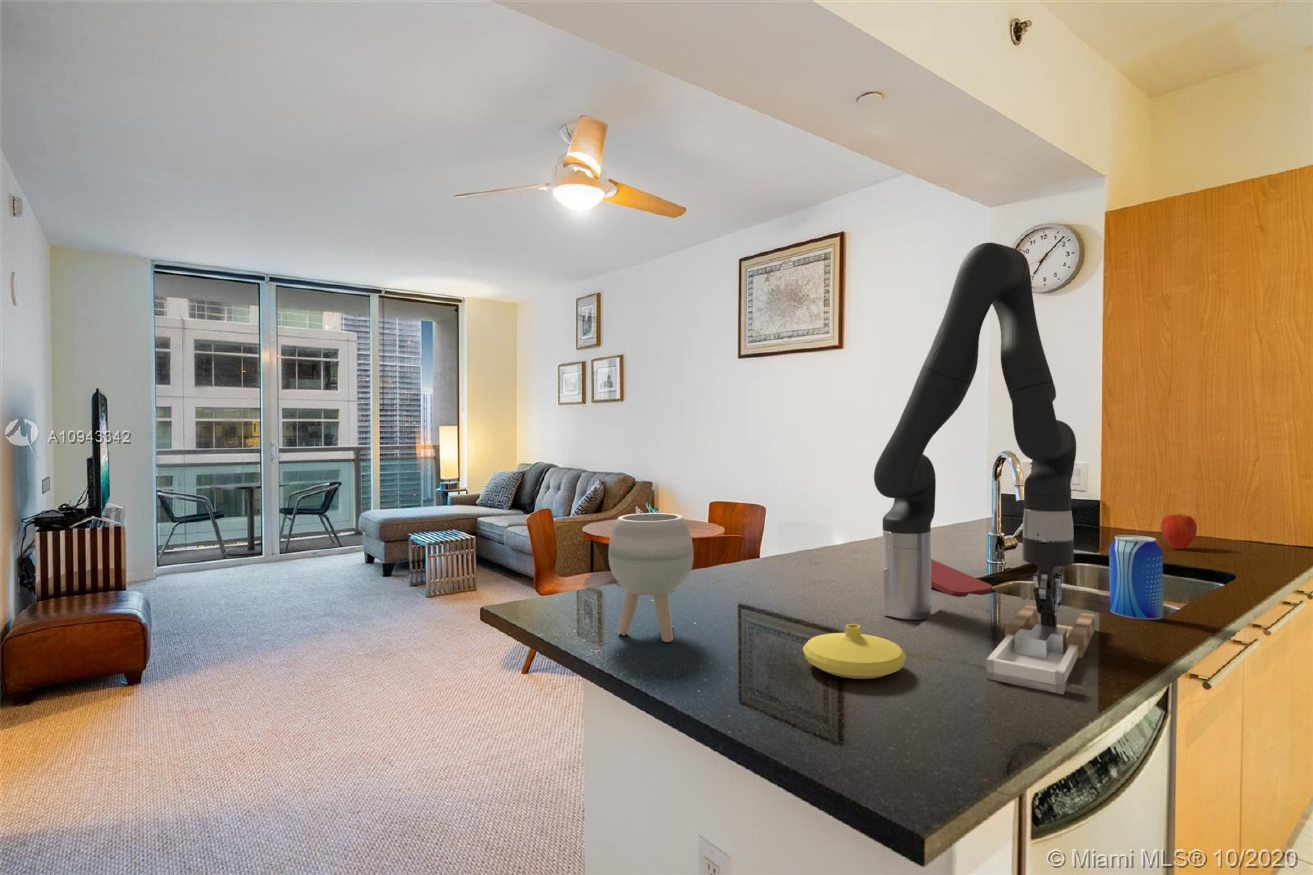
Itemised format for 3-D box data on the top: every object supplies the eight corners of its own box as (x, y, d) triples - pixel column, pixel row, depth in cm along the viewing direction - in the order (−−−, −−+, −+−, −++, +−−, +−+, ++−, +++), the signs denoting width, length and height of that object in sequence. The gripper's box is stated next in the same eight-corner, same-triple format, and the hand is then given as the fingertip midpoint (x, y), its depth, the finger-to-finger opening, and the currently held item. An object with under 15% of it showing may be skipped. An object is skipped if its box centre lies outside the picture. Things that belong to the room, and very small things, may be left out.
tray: (1008, 651, 111) (1008, 634, 111) (1078, 664, 105) (1077, 645, 105) (986, 678, 100) (986, 659, 100) (1063, 694, 93) (1063, 673, 93)
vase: (795, 653, 113) (794, 612, 113) (888, 653, 112) (887, 612, 112) (813, 689, 97) (813, 642, 97) (921, 689, 96) (921, 641, 96)
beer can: (1148, 628, 122) (1147, 542, 122) (1101, 617, 130) (1100, 536, 130) (1172, 621, 126) (1171, 538, 126) (1124, 611, 134) (1123, 533, 134)
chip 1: (1020, 646, 110) (1019, 628, 110) (1051, 651, 107) (1050, 633, 107) (1014, 654, 107) (1014, 635, 107) (1046, 659, 104) (1046, 640, 104)
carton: (994, 607, 152) (916, 570, 175) (997, 587, 152) (918, 553, 175) (955, 614, 148) (879, 575, 171) (957, 593, 147) (881, 557, 170)
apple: (1171, 551, 193) (1170, 515, 193) (1154, 546, 202) (1154, 511, 202) (1204, 552, 192) (1203, 515, 192) (1185, 547, 200) (1185, 511, 200)
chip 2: (1036, 641, 113) (1036, 624, 113) (1067, 646, 110) (1066, 628, 110) (1031, 648, 109) (1031, 630, 109) (1063, 654, 106) (1062, 635, 106)
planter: (592, 636, 124) (590, 518, 124) (650, 617, 136) (648, 509, 136) (654, 655, 113) (652, 525, 113) (712, 632, 125) (710, 515, 125)
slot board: (1025, 626, 125) (1025, 605, 125) (1094, 636, 118) (1094, 614, 118) (1005, 651, 111) (1005, 627, 111) (1081, 665, 104) (1081, 640, 104)
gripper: (1030, 528, 120) (1031, 622, 120) (1015, 539, 110) (1016, 641, 110) (1078, 532, 116) (1079, 630, 116) (1067, 543, 105) (1069, 650, 105)
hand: (1048, 635), depth 113 cm, fingers closed
